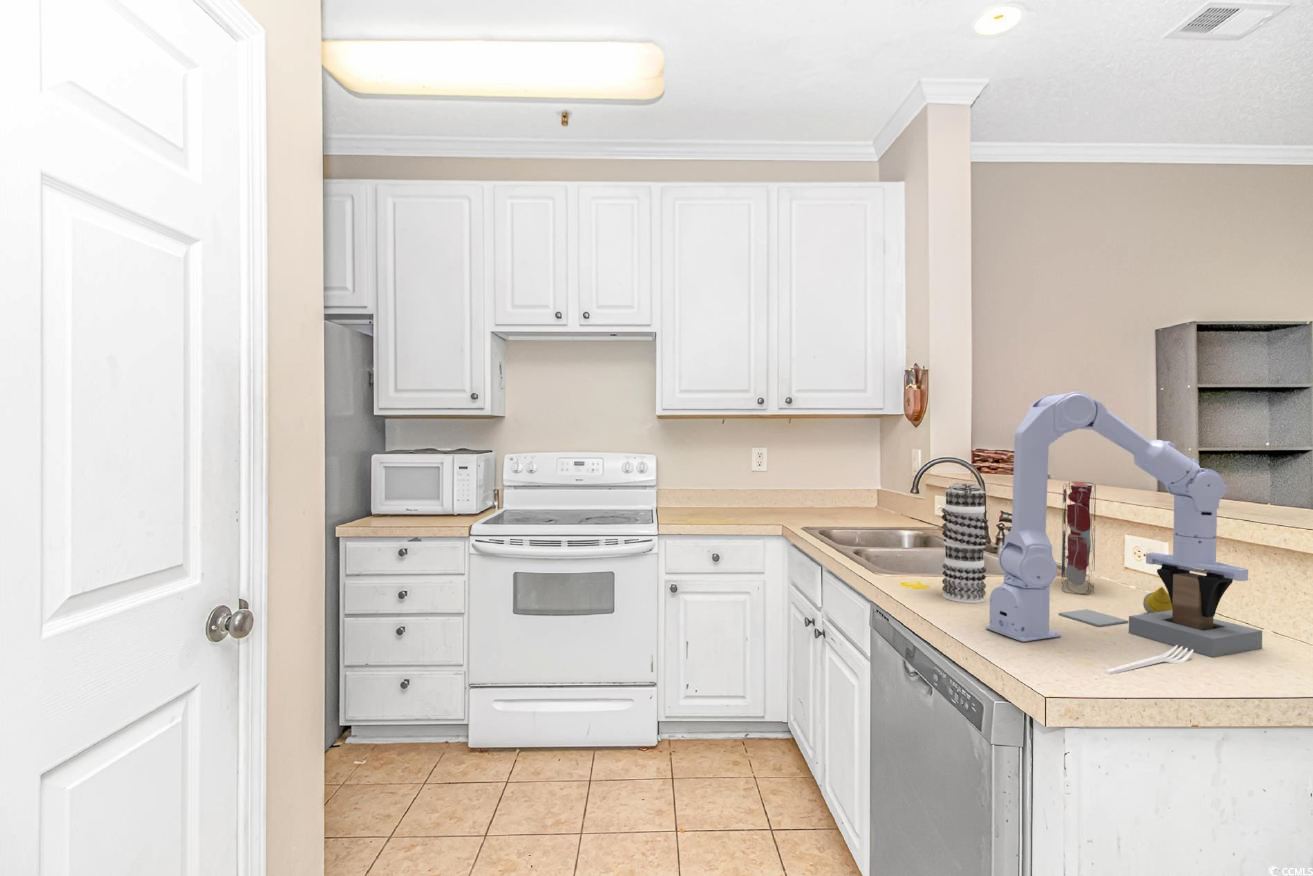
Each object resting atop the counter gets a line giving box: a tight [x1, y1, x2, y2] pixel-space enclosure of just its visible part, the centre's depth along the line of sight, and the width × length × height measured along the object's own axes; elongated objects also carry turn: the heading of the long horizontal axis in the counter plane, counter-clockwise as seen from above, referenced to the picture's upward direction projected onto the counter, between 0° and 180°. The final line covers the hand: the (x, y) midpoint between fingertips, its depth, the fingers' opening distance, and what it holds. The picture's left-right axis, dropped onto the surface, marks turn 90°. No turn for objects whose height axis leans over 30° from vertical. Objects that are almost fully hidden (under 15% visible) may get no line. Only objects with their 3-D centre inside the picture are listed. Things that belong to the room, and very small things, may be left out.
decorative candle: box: [941, 482, 989, 604], centre depth 136 cm, size 9×9×25 cm
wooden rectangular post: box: [1172, 572, 1214, 631], centre depth 109 cm, size 4×4×10 cm
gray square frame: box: [1128, 610, 1263, 658], centre depth 109 cm, size 13×13×3 cm
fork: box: [1104, 645, 1194, 676], centre depth 98 cm, size 3×20×2 cm, turn 113°
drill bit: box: [1142, 586, 1173, 614], centre depth 122 cm, size 5×5×10 cm
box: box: [1061, 481, 1097, 596], centre depth 142 cm, size 25×6×24 cm, turn 144°
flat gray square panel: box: [1058, 608, 1129, 628], centre depth 121 cm, size 8×8×1 cm
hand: (1193, 612), depth 109 cm, fingers closed on wooden rectangular post, 4 cm apart
